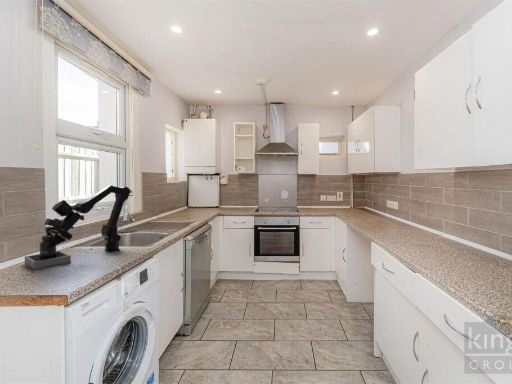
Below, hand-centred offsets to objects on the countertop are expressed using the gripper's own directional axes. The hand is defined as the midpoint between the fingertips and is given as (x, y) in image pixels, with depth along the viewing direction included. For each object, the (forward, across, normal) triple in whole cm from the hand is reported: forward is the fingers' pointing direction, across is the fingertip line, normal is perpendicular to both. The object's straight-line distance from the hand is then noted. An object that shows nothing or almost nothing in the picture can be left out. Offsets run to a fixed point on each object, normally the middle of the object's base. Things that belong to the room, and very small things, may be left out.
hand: (44, 247), depth 138 cm
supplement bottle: (+4, 0, +6) cm, 7 cm away
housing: (+5, 0, +7) cm, 9 cm away
